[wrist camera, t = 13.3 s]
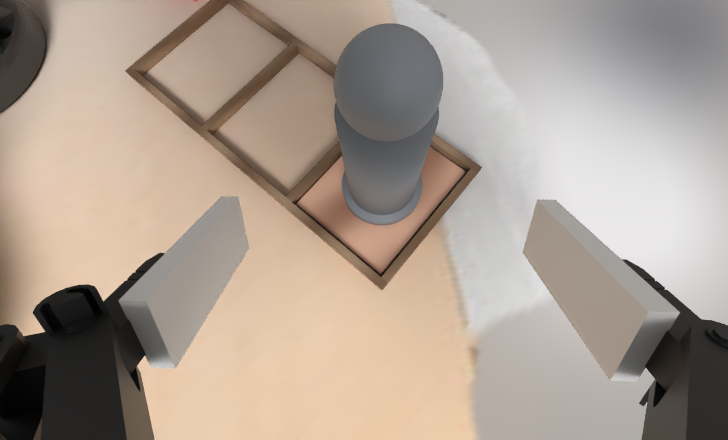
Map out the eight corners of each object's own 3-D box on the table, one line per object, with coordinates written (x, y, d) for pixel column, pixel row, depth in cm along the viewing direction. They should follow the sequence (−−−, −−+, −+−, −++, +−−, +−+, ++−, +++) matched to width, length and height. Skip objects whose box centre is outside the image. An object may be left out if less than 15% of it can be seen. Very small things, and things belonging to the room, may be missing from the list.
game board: (131, 77, 29) (125, 70, 28) (228, -5, 32) (225, -13, 31) (382, 290, 23) (382, 289, 23) (478, 171, 26) (481, 167, 25)
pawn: (327, 192, 25) (273, 54, 12) (376, 139, 26) (379, -44, 13) (387, 241, 24) (404, 149, 11) (436, 183, 25) (507, 33, 12)
